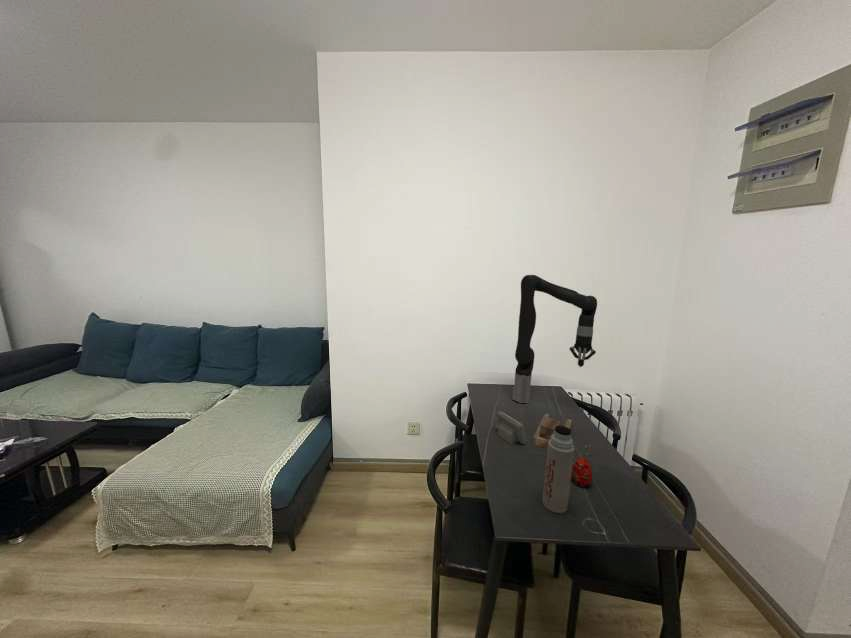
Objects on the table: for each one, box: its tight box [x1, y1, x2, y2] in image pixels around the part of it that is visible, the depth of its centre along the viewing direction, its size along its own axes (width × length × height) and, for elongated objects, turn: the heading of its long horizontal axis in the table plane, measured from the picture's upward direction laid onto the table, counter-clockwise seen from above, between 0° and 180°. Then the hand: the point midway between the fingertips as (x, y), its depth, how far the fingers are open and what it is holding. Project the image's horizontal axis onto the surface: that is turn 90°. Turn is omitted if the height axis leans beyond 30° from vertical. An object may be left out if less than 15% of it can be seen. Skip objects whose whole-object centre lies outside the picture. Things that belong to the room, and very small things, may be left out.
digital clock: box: [496, 410, 527, 445], centre depth 150 cm, size 16×9×11 cm, turn 17°
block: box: [539, 416, 562, 440], centre depth 148 cm, size 6×10×9 cm, turn 141°
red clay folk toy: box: [571, 444, 593, 488], centre depth 120 cm, size 8×7×15 cm
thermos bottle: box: [542, 425, 575, 514], centre depth 107 cm, size 8×8×28 cm
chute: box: [532, 413, 573, 450], centre depth 154 cm, size 13×28×4 cm, turn 150°
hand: (580, 366), depth 168 cm, fingers closed
